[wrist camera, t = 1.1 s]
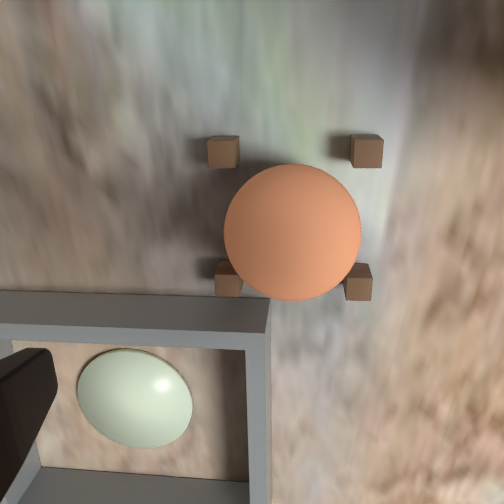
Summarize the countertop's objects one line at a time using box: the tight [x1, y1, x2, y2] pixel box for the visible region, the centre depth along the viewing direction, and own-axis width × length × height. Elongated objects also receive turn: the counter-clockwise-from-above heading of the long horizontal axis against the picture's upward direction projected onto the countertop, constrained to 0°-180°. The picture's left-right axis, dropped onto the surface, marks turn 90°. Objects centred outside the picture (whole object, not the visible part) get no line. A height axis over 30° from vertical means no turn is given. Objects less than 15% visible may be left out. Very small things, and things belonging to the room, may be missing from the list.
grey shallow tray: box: [0, 290, 272, 504], centre depth 22 cm, size 14×12×3 cm
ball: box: [224, 164, 361, 301], centre depth 17 cm, size 5×5×5 cm
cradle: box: [207, 135, 384, 301], centre depth 19 cm, size 6×6×2 cm
